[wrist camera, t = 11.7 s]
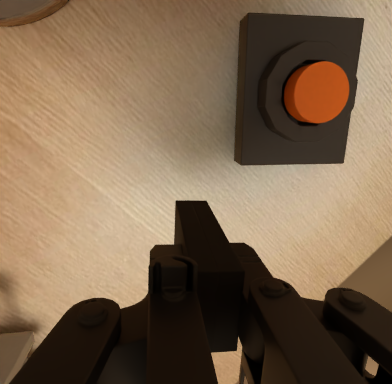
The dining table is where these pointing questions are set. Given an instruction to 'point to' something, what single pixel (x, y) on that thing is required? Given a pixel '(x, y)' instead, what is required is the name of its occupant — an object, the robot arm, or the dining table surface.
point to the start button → (316, 92)
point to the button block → (276, 81)
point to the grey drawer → (14, 353)
